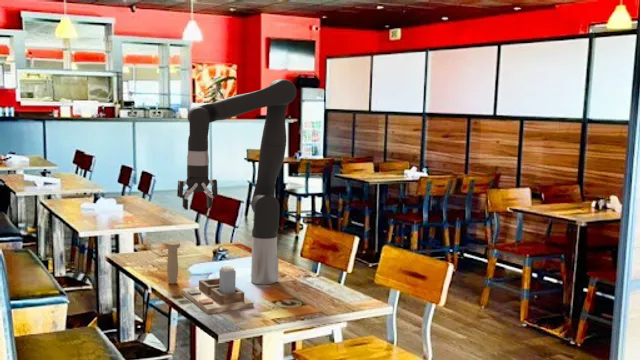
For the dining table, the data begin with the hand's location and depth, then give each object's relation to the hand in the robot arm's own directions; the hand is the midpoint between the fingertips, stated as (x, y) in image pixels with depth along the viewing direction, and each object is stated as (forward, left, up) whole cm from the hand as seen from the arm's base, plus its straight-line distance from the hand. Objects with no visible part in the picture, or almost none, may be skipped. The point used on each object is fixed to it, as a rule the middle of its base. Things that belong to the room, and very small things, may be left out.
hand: (197, 208), depth 233 cm
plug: (-2, +24, -27) cm, 36 cm away
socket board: (0, +19, -28) cm, 34 cm away
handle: (+7, -6, -28) cm, 30 cm away
